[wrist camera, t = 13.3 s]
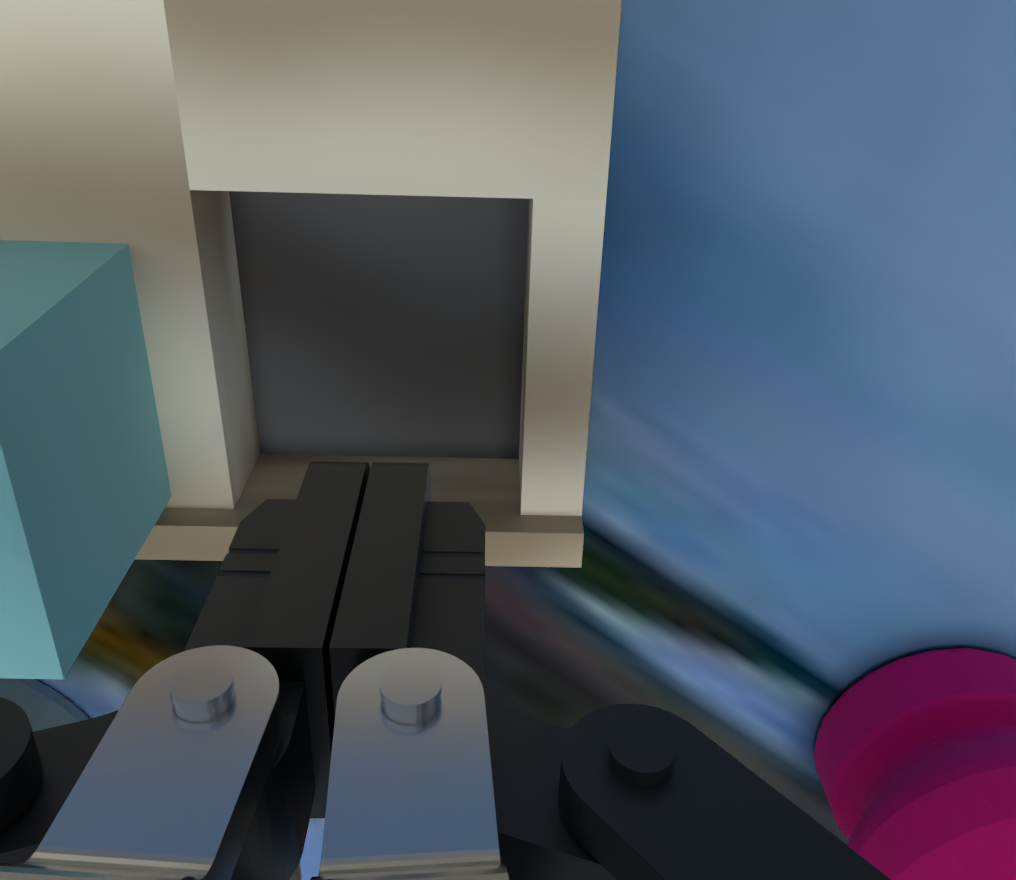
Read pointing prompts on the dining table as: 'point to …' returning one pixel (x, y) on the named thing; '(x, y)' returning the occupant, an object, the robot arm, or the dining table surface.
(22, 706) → the grey green cup
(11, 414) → the teal block
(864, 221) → the dining table surface
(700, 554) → the dining table surface
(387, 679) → the robot arm
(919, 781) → the pepper mill
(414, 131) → the tray
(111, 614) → the dining table surface
